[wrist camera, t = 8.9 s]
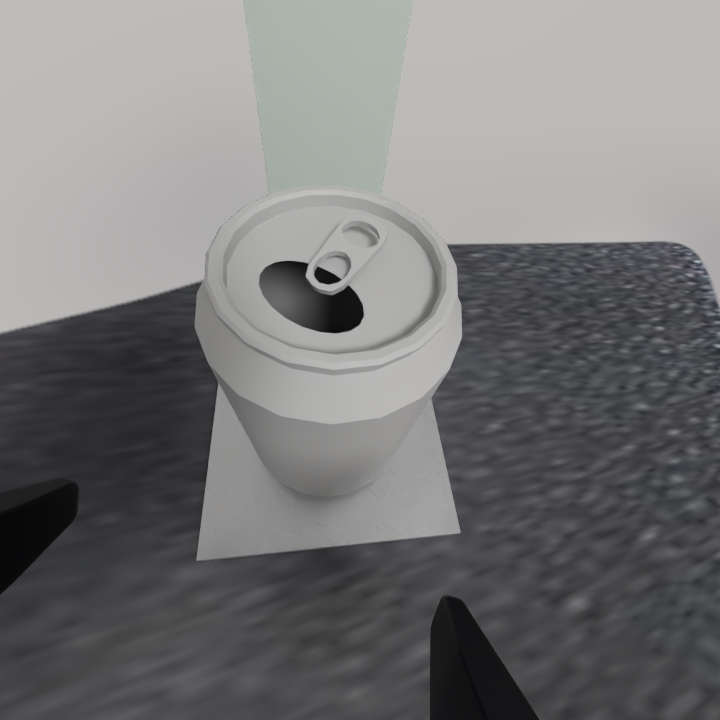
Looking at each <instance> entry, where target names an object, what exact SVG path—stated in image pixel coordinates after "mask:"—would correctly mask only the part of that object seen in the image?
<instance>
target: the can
mask: <svg viewBox="0 0 720 720" xmlns="http://www.w3.org/2000/svg"><path fill="white" fill-rule="evenodd" d="M195 330H196V332H197V335H198V338H199V340H200V343H201V346H202V348H203V351H204V354H205V357H206V359H207V362H208V364H209V366H210V368H211V369H212V371H213V373H214V375H215V377H216V379H217V381H218V382H219V384H220V386H221V388H222V390H223V392H224V393H225V395H226V397H227V399H228V401H229V403H230V404H231V406H232V408H233V410H234V412H235V414H236V415H237V417H238V419H239V421H240V423H241V425H242V426H243V428H244V430H245V432H246V434H247V436H248V437H249V439H250V441H251V443H252V445H253V447H254V448H255V450H256V452H257V454H258V456H259V458H260V459H261V461H262V463H263V464H264V466H265V467H266V468H267V469H268V470H269V471H270V472H271V473H272V474H273V476H274V477H275V478H276V479H277V480H278V481H279V482H281V483H282V484H284V485H286V486H288V487H290V488H292V489H293V490H295V491H297V492H299V493H301V494H307V495H314V496H320V497H332V496H337V495H343V494H349V493H352V492H354V491H356V490H358V489H359V488H361V487H363V486H365V485H367V484H368V483H370V482H372V481H373V480H374V479H375V478H376V477H377V476H378V475H379V474H380V473H381V472H382V470H383V469H384V468H385V467H386V466H387V465H388V464H389V462H390V461H391V459H392V458H393V456H394V455H395V453H396V452H397V450H398V448H399V447H400V445H401V444H402V442H403V441H404V439H405V438H406V436H407V434H408V433H409V431H410V430H411V428H412V427H413V425H414V424H415V422H416V420H417V419H418V417H419V416H420V414H421V413H422V411H423V410H424V408H425V406H426V405H427V403H428V402H429V400H430V399H431V397H432V396H433V394H434V392H435V391H436V389H437V388H438V386H439V385H440V383H441V382H442V380H443V378H444V377H445V375H446V374H447V372H448V371H449V369H450V367H451V364H452V361H453V359H454V356H455V354H456V351H457V349H458V346H459V344H460V341H461V338H462V317H461V303H460V301H459V299H458V290H457V267H456V264H455V262H454V260H453V258H452V255H451V253H450V251H449V249H448V246H447V244H446V242H445V241H444V240H443V239H442V238H441V237H440V235H439V234H438V233H437V232H436V231H435V230H434V229H433V228H432V227H431V226H430V225H429V223H428V222H427V221H426V220H425V219H424V218H422V217H421V216H419V215H418V214H416V213H415V212H413V211H412V210H410V209H409V208H407V207H406V206H404V205H402V204H400V203H399V202H397V201H395V200H392V199H389V198H387V197H384V196H381V195H379V194H376V193H374V192H371V191H368V190H362V189H356V188H350V187H344V186H338V185H323V186H301V187H297V188H292V189H288V190H283V191H278V192H274V193H271V194H269V195H267V196H265V197H263V198H261V199H259V200H257V201H255V202H252V203H250V204H248V205H246V206H244V207H243V208H242V209H241V210H239V211H238V212H237V213H236V214H235V215H234V216H233V217H231V219H229V220H228V221H227V222H226V223H225V224H223V225H222V226H221V227H220V228H219V230H218V232H217V234H216V236H215V238H214V239H213V241H212V243H211V245H210V247H209V249H208V251H207V252H206V261H205V277H204V280H203V282H202V284H201V286H200V288H199V290H198V292H197V300H196V314H195Z"/></svg>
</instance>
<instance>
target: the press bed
mask: <svg viewBox="0 0 720 720" xmlns="http://www.w3.org/2000/svg"><path fill="white" fill-rule="evenodd" d="M458 533H460V528H459V523H458V519H457V514H456V510H455V505H454V501H453V496H452V492H451V487H450V482H449V478H448V473H447V469H446V464H445V460H444V455H443V451H442V446H441V441H440V437H439V432H438V428H437V423H436V419H435V414H434V410H433V405H432V400H431V399H430V400H429V402H428V403H427V405H426V406H425V408H424V410H423V411H422V413H421V414H420V416H419V417H418V419H417V420H416V422H415V424H414V425H413V427H412V428H411V430H410V431H409V433H408V434H407V436H406V438H405V439H404V441H403V442H402V444H401V445H400V447H399V448H398V450H397V452H396V453H395V455H394V456H393V458H392V459H391V461H390V462H389V464H388V465H387V466H386V467H385V468H384V469H383V470H382V472H381V473H380V474H379V475H378V476H377V477H376V478H375V479H374V480H373V481H372V482H370V483H368V484H367V485H365V486H363V487H361V488H359V489H358V490H356V491H354V492H352V493H349V494H343V495H337V496H332V497H320V496H314V495H307V494H301V493H299V492H297V491H295V490H293V489H292V488H290V487H288V486H286V485H284V484H282V483H281V482H279V481H278V480H277V479H276V478H275V477H274V476H273V474H272V473H271V472H270V471H269V470H268V469H267V468H266V467H265V466H264V464H263V463H262V461H261V459H260V458H259V456H258V454H257V452H256V450H255V448H254V447H253V445H252V443H251V441H250V439H249V437H248V436H247V434H246V432H245V430H244V428H243V426H242V425H241V423H240V421H239V419H238V417H237V415H236V414H235V412H234V410H233V408H232V406H231V404H230V403H229V401H228V399H227V397H226V395H225V393H224V392H223V390H222V388H221V386H220V384H219V382H218V390H217V398H216V406H215V414H214V422H213V430H212V439H211V447H210V455H209V463H208V471H207V479H206V487H205V495H204V503H203V511H202V519H201V528H200V536H199V544H198V552H197V560H196V561H213V560H223V559H232V558H242V557H251V556H261V555H270V554H280V553H289V552H299V551H308V550H318V549H327V548H337V547H346V546H356V545H365V544H375V543H384V542H394V541H403V540H412V539H422V538H431V537H441V536H450V535H454V534H458Z"/></svg>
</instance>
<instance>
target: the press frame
mask: <svg viewBox="0 0 720 720" xmlns="http://www.w3.org/2000/svg"><path fill="white" fill-rule="evenodd" d="M243 1H244V9H245V16H246V24H247V31H248V38H249V45H250V54H251V61H252V68H253V76H254V83H255V91H256V98H257V106H258V113H259V120H260V128H261V136H262V143H263V151H264V158H265V166H266V173H267V181H268V188H269V194H271V193H274V192H278V191H283V190H288V189H292V188H297V187H301V186H323V185H338V186H344V187H350V188H356V189H362V190H368V191H371V192H374V193H376V194H379V195H381V192H382V186H383V179H384V174H385V168H386V161H387V155H388V149H389V143H390V137H391V131H392V125H393V118H394V113H395V107H396V101H397V95H398V89H399V83H400V77H401V71H402V65H403V59H404V52H405V46H406V40H407V34H408V28H409V22H410V16H411V10H412V4H413V0H243Z"/></svg>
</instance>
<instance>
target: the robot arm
mask: <svg viewBox="0 0 720 720" xmlns="http://www.w3.org/2000/svg"><path fill="white" fill-rule="evenodd" d="M78 499H79V486H78V484H77V483H76V482H73V481H69V480H66V479H55V480H51V481H47V482H43V483H39V484H35V485H30V486H26V487H22V488H18V489H14V490H10V491H6V492H2V493H0V594H1V593H3V592H4V591H5V590H6V589H7V588H8V587H9V586H10V585H11V584H12V583H13V582H14V581H15V580H16V579H17V578H18V577H19V576H20V575H21V574H22V573H23V572H24V571H25V570H26V569H27V568H28V567H29V566H30V565H31V564H32V563H33V562H34V561H35V560H36V559H37V558H38V557H39V556H40V555H41V554H42V553H43V552H44V551H45V550H46V549H47V548H48V546H49V545H50V544H51V543H52V542H53V541H54V540H55V539H56V538H57V537H58V536H59V535H60V534H61V533H62V532H63V531H64V530H65V529H66V528H67V527H68V526H69V525H70V524H71V523H72V521H73V520H74V518H75V517H76V514H77V511H78ZM430 720H539V718H538V717H537V715H536V714H535V712H534V711H533V709H532V708H531V706H530V704H529V703H528V701H527V700H526V698H525V697H524V695H523V694H522V692H521V691H520V689H519V687H518V686H517V684H516V683H515V681H514V680H513V678H512V677H511V675H510V673H509V672H508V670H507V669H506V667H505V666H504V664H503V663H502V661H501V660H500V658H499V656H498V655H497V653H496V652H495V650H494V649H493V647H492V646H491V644H490V643H489V641H488V639H487V638H486V636H485V635H484V633H483V632H482V630H481V629H480V627H479V626H478V624H477V622H476V621H475V619H474V618H473V616H472V615H471V613H470V612H469V610H468V609H467V607H466V605H465V604H464V602H463V601H462V600H461V599H459V598H456V597H452V596H449V595H443V596H442V598H441V600H440V603H439V605H438V608H437V610H436V613H435V616H434V618H433V621H432V625H431V637H430Z"/></svg>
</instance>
